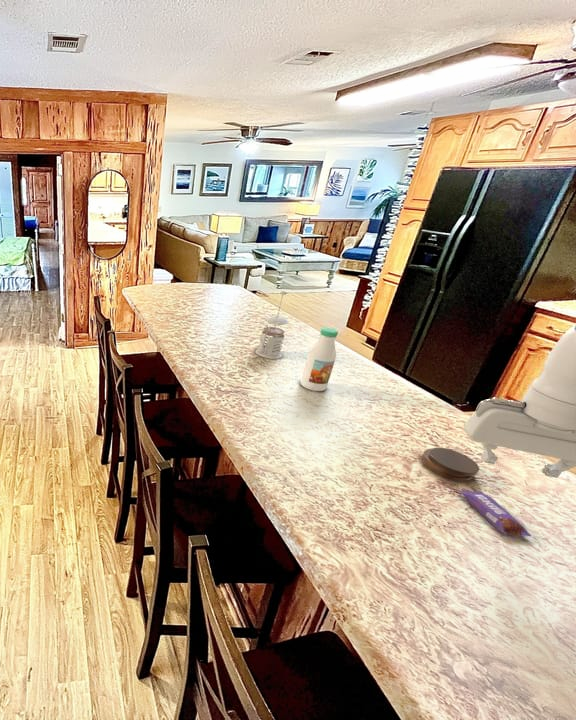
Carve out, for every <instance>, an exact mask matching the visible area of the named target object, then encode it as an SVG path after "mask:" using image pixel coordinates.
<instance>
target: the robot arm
mask: <svg viewBox="0 0 576 720" xmlns="http://www.w3.org/2000/svg"><path fill="white" fill-rule="evenodd" d="M463 431H464V432H465V434H466V435H467V437H468V438H469V439H470V440H471V441H473V442H476V443H480V444H481V445H482V450H483V452H482V454H481V456H480V459H481V461H482V462H483V463H485V464H486V463H487V464H491V465H495V464H496V462H497V461H498V459H499V457H498V456H497V455H496V454H495V452H493V450H494V451H496V449H498V447H499V448H500V447H501V448H504V449H509V450H515V451H520V452H525V453H529V454H535V455H539V456H544V457H549V458H552V459H553V458H554V459H559V460H558V461H556V462H554V463H552V464H550V463H545V464H544V467H542V468H541V469H542V470H541V472H542V473H543V474H544V475H545V476H546V477H550V478H556V479H557V478H559V476H560V475H561V474H562V473H565V472H566V471H568V470H571V469H574V468H576V324H574V325H573V326H571V327H570V328H569V329H567V331H566V332H564V334H563V335H562V336H561V337H560V338H559V339H558V340H557V342H556V343H555V345H554V346H553V348H552V349H551V350H550V352H549V353H548V355H547V357H546V358H545V360H544V362H543V364H542V370H541V373H540V374H539V375H538V376H537V377H536V378H535V379H534V380H532V382H531V383H530V384H529V386H528V388H527V390H526V392H525V393H524V395H523V396H522V398H521V399H520V401H518V400H512V399H504V398H500V397H492V398H488V399H484V400H480V402H479V403H478V404H477V407H476V409H475V411H474V412H473V413H472V415H471V416H470V417H469V419H467V421H466V423H465V424H464V425H463Z"/></svg>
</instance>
